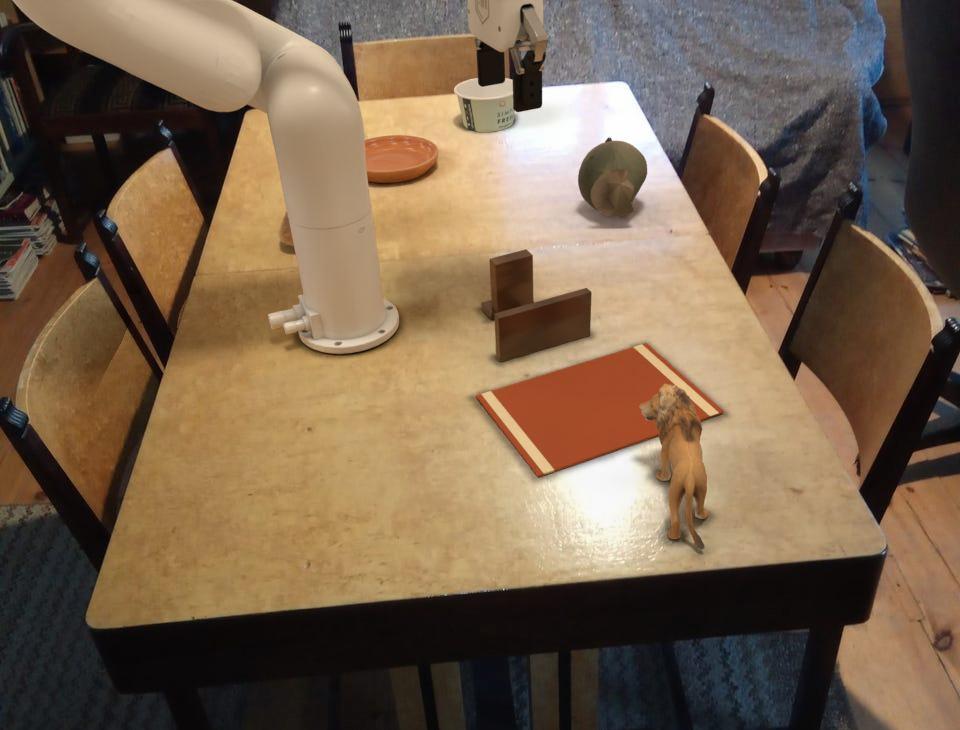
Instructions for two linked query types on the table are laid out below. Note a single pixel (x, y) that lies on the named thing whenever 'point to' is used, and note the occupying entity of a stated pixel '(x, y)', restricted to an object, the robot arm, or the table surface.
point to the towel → (587, 408)
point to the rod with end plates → (531, 310)
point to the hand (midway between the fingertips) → (509, 96)
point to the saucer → (398, 158)
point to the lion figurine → (679, 454)
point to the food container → (486, 105)
